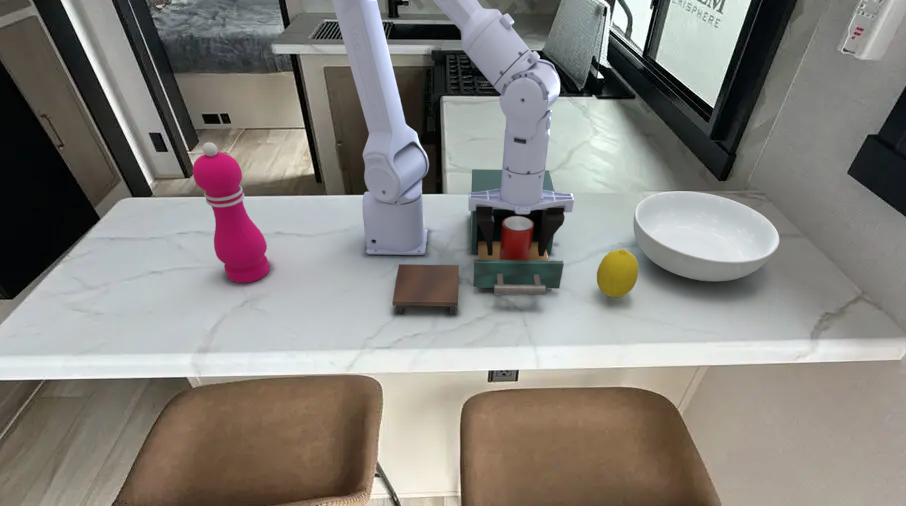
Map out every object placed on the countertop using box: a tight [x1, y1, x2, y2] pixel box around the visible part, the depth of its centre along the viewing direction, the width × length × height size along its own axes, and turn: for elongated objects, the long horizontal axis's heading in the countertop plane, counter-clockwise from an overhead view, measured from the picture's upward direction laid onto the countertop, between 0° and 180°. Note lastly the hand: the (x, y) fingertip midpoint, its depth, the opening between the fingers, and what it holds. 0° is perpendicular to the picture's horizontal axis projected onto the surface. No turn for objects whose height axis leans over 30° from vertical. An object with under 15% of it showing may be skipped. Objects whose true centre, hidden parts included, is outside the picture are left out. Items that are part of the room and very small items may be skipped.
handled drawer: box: [472, 241, 565, 296], centre depth 76 cm, size 13×16×4 cm
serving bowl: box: [632, 190, 780, 282], centre depth 80 cm, size 21×21×7 cm
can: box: [499, 216, 534, 260], centre depth 76 cm, size 5×5×7 cm
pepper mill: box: [192, 141, 270, 284], centre depth 72 cm, size 7×7×20 cm
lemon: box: [596, 248, 639, 298], centre depth 72 cm, size 6×6×8 cm
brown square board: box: [392, 263, 460, 315], centre depth 74 cm, size 9×9×2 cm
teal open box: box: [470, 168, 556, 255], centre depth 85 cm, size 13×12×9 cm
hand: (515, 252), depth 77 cm, fingers open, 7 cm apart
